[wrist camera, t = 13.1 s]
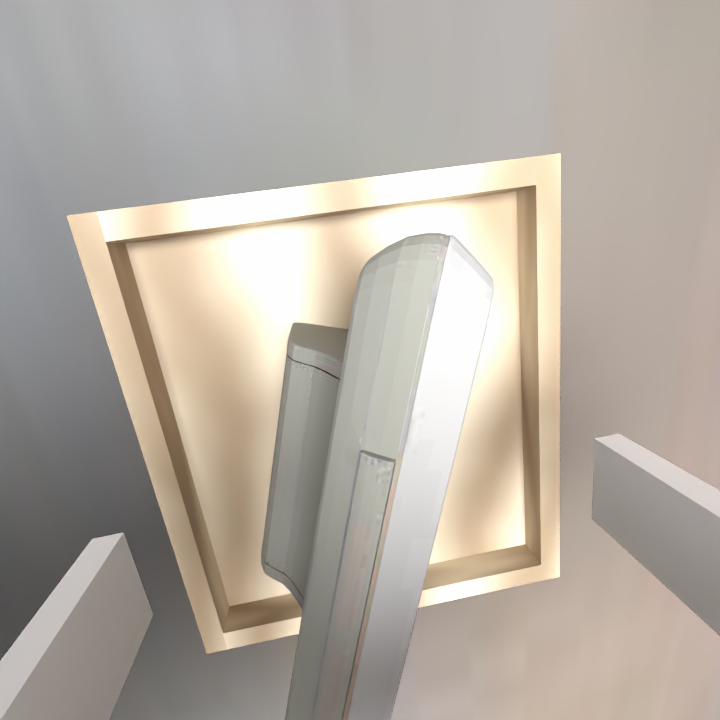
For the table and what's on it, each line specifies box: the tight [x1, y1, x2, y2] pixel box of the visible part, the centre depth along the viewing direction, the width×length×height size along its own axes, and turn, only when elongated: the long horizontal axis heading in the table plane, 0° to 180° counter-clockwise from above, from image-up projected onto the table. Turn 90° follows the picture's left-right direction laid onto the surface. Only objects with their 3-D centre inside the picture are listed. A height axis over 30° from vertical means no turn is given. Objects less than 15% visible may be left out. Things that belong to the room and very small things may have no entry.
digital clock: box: [261, 233, 494, 720], centre depth 13 cm, size 16×9×11 cm, turn 159°
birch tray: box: [67, 153, 561, 654], centre depth 18 cm, size 18×20×2 cm
